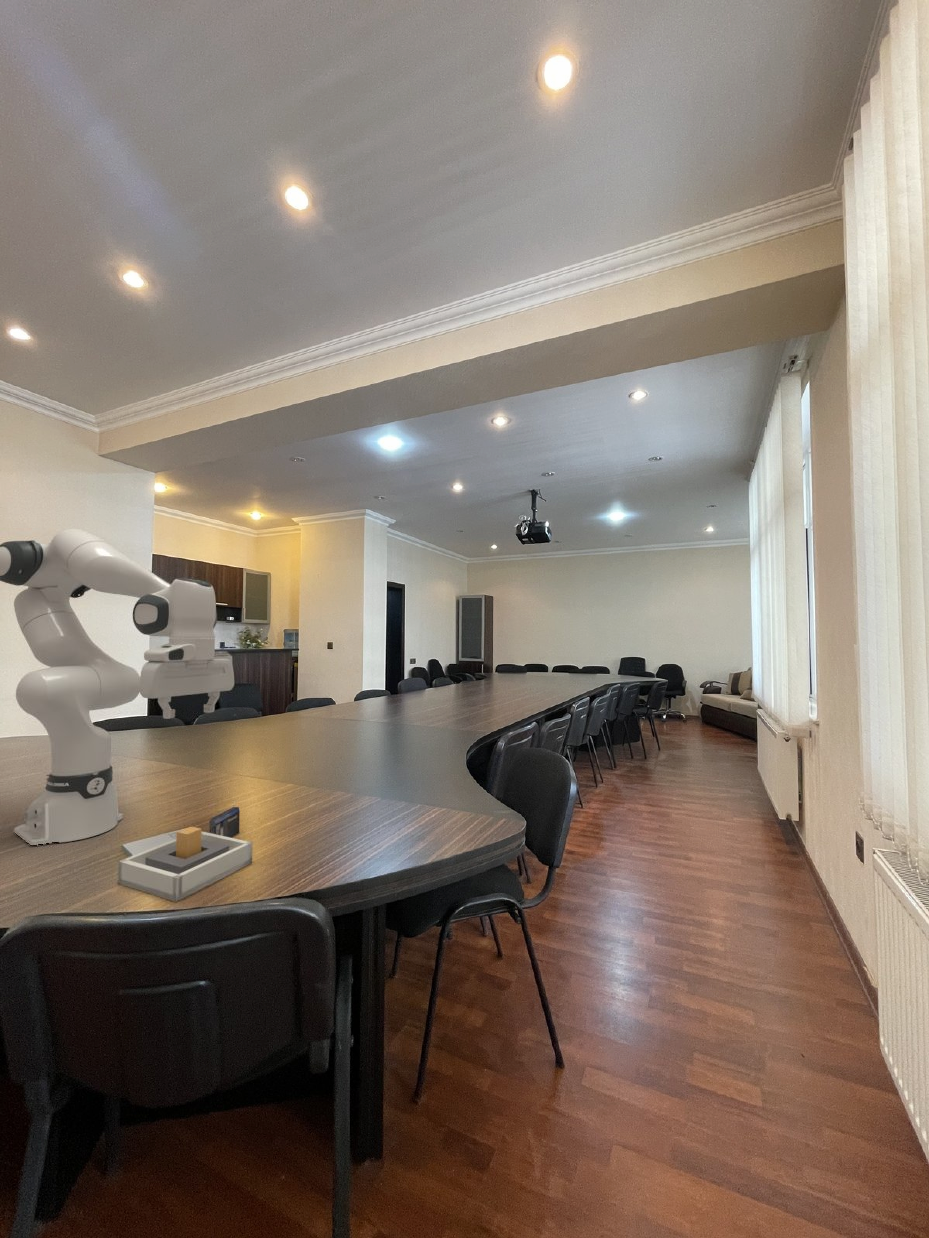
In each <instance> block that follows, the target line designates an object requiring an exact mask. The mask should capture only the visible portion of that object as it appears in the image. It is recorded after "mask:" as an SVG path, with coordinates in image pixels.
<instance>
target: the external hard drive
mask: <svg viewBox="0 0 929 1238" xmlns="http://www.w3.org/2000/svg"><path fill="white" fill-rule="evenodd" d="M186 828H187V827H186ZM186 828H185V827H184V828H181V829H178V830H174V831H170V832H165V833H161V834H157V835H154V836H150V837H147V838H146V837H145V838H142V839H139V840H135V841H134V840H133V841H130V842H127V843H123V844H121V850H122V851H123V853H125V854H126V856H127V857H128V858H129V857H131V856H134V855H136V854H139V853H141V852H144V851H146V850H149V849H152V848H154V847H157V846H159V845H162V844H164V843H167V842H169V841H172V840H174V839H176V834H177V832H178V831H181V830H183V829H186Z"/></svg>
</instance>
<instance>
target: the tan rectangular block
mask: <svg viewBox="0 0 929 1238" xmlns="http://www.w3.org/2000/svg"><path fill="white" fill-rule="evenodd" d="M182 829H183V830H181V831H178V832H177V834H176V857H179V858H183V859H187V858H189V857H191V856H193V855H196V854H198V853H200V852H201V832H202V830H203V829H202V828H200V827H195V826H189V827H186V829H184V828H182Z"/></svg>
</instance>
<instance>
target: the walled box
mask: <svg viewBox="0 0 929 1238" xmlns="http://www.w3.org/2000/svg"><path fill="white" fill-rule="evenodd" d="M250 864H251V865H252V864H253V842H252V841H248V840H244V839H238V838H235V837H232V838H230V837H225V836H221V835H216V834H212V833H209V832H207V831H202V832H201V852H200V853H198V854H196V855H193V856H191V857H189V858H187V859H183V858H179V857H176V839H174V840H172V841H169V842H167V843H164V844H162V845H159V846H157V847H154V848H152V849H149V850H146V851H144V852H141V853H139V854H136V855H134V856H131V857H129V856H128V857H126V858H124V859H120V860H118V868H117V869H118V871H117V872H118V873H117V874H118V875H117V877H118V878H117V884H118V885H121V886H124V887H126V888H127V887H128V888H131V889H134V890H137V891H139V892H140V891H141V892H143V893H147V894H149V895H153V896H156V897H159V898H163V899H166V900H169V901H171V902H175V903H177V902H179V901H181V900H183V899H185V898H187V897H188V896H191V895H193V894H195V893H197V892H198V891H200V890H202V889H204V888H207V887H208V886H210V885H213V884H214V883H216V882H217V881H220V880H222V879H224V878H226V877H227V876H229V875H232V874H233V873H236V872H238V871H239V870H241V869H243V868H245V867H247V866H249V865H250Z"/></svg>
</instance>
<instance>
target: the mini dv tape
mask: <svg viewBox="0 0 929 1238" xmlns="http://www.w3.org/2000/svg"><path fill="white" fill-rule="evenodd" d="M240 812H241V811H240V807H239V806H232V807H231V808H229V809H227V810H225V811H223V812H220V813H218V815H216V816H213V817H212V818H209V825H208V826H209V827H208V829H209V830H208V831H209V832H208V833H212V834H216V835H221V836H225V837H230V838H234V837H236V836H238V835H239V834H240ZM233 836H234V837H233Z"/></svg>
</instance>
